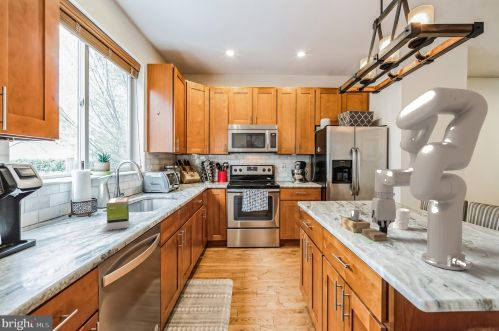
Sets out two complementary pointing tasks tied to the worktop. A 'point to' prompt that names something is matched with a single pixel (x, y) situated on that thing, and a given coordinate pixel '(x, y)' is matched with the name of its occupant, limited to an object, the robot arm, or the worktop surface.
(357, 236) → the mat
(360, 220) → the slot block
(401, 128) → the robot arm
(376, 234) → the walnut bar
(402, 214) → the white cup
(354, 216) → the silver cylinder
